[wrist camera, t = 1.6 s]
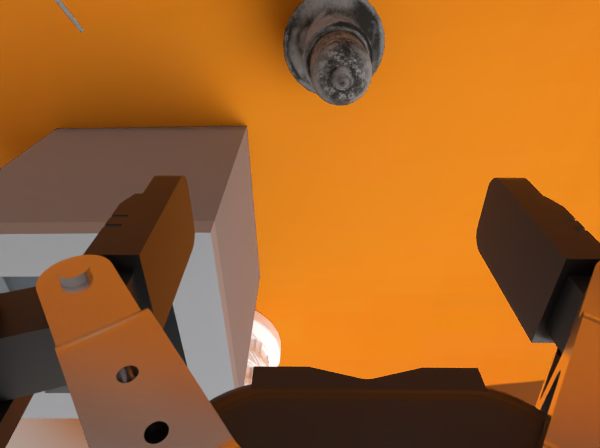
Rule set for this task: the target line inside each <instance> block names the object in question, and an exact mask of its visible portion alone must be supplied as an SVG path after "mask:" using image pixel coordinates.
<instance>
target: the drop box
mask: <svg viewBox="0 0 600 448" xmlns="http://www.w3.org/2000/svg"><path fill="white" fill-rule="evenodd" d="M156 175H178V176H185V177H186V179H187V183H188V188H189V195H190V201H191V208H192V214H193V221H194V229H195V239H194V246H193V250H192V253H191V255H190V258H189V261H188V263H187V266H186V269H185V271H184V274H183V277H182V280H181V282H180V285H179V288H178V290H177V293H176V296H175V298H174V301H173V304H172V307H171V309H170V312H169V315H168V317H167V320H166V323H165V325H164V328H163V330H164V332H165V333H166V335H167V337H168V338H169V340H170V341H171V343H172V344H173V346H174V347H175V349H176V350H177V352H178V354H179V355H180V357H181V358H182V360H183V361H184V363H185V364H186V366H187V367H188V369H189V371H190V372H191V374H192V375H193V377H194V378H195V380H196V381H197V383H198V384H199V386H200V388H201V389H202V391H203V392H204V394H205V395H206V397H207V398H208V400H209V401H210V400H212V399H213V398H215V397H217V396H219V395H221V394H223V393H225V392H227V391H229V390H232V389H235V388H238V387H241V386H244V383H245V376H246V369H247V362H248V355H249V348H250V341H251V334H252V327H253V320H254V314H255V307H256V300H257V293H258V286H259V279H260V272H259V260H258V249H257V237H256V226H255V214H254V203H253V191H252V180H251V168H250V157H249V145H248V134H247V126H212V127H134V128H57V129H55V130H54V131H52V132H51V133H50V134H48V135H47V136H45V137H44V138H43V139H41V140H40V141H38V142H37V143H36V144H34V145H33V146H31V147H30V148H29V149H27V150H26V151H25V152H23V153H22V154H20V155H19V156H18V157H16V158H15V159H13V160H12V161H11V162H9V163H8V164H6V165H5V166H4V167H2V168H1V169H0V293H5V292H10V291H15V290H20V289H26V288H31V287H35V286H36V282H37V280H38V278H39V277H40V275H41V274H42V273H43V272H44V271H45V270H47V269H48V268H49V267H51V266H52V265H54V264H56V263H58V262H60V261H62V260H65V259H67V258H71V257H75V256H80V255H83V254H84V253H85V251H86V250H87V248H88V247H89V246H90V244H91V243H92V242H93V240H94V239H95V237H96V236H97V235H98V233H99V232H100V230H101V229H102V228H103V227H105V224H106V222H107V221H108V219H109V218H110V217H112V214H113V212H114V211H115V210H116V208H117V207H118V205H119V204H120V203H121V202H123V201H124V200H126V199H127V198H129V197H131V196H132V195H134V194H135V193H136V194H143V192H144V191H145V189H146V188H147V186H148V185H149V183H150V182H151V180H152V179H153V177H154V176H156ZM21 418H78V415H77V412H76V409H75V406H74V403H73V400H72V397H71V395H70V392H69V389H68V386H67V385H66V386H62V387H58V388H54V389H50V390H46V391H43V392H39V393H35V394H34V395H33V397H32V399H31V401H30V402H29V404H28V406H27V408H26V410H25V412H24V414H23V415H22V417H21Z"/></svg>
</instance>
